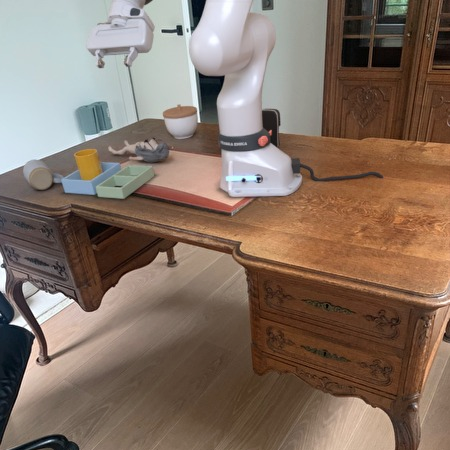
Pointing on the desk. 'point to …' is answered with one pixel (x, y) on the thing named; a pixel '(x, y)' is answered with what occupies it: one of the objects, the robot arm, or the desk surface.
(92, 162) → the tumbler
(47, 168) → the ceramic mug
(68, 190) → the open storage box
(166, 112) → the lidded bowl
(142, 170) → the divided storage tray
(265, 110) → the battery charger
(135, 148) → the anime figure
